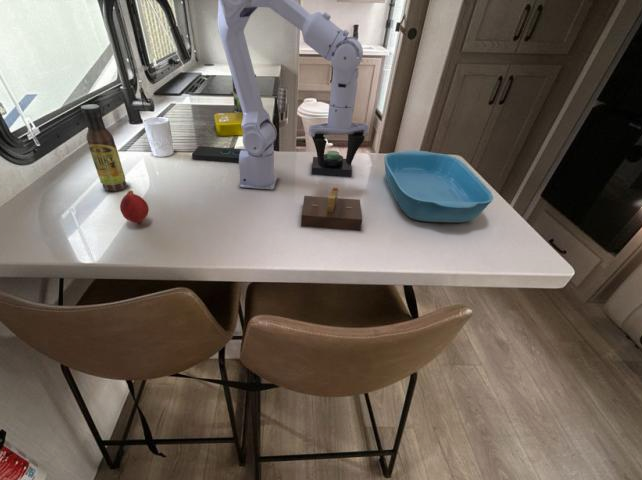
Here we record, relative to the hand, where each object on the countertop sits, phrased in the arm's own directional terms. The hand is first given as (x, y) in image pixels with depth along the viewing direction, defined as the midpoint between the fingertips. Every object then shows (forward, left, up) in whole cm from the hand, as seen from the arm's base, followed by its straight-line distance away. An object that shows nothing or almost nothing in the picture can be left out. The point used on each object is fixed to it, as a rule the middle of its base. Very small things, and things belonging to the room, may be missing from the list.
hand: (334, 164), depth 86 cm
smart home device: (-35, +22, -8) cm, 42 cm away
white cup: (-56, +22, -8) cm, 61 cm away
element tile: (-38, +51, -8) cm, 64 cm away
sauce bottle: (-59, -5, -8) cm, 60 cm away
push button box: (0, +17, -8) cm, 19 cm away
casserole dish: (+26, +2, -8) cm, 27 cm away
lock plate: (0, -13, -8) cm, 15 cm away
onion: (-45, -22, -8) cm, 51 cm away
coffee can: (-39, +78, -8) cm, 88 cm away
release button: (0, +17, -5) cm, 18 cm away
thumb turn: (0, -13, -5) cm, 14 cm away
